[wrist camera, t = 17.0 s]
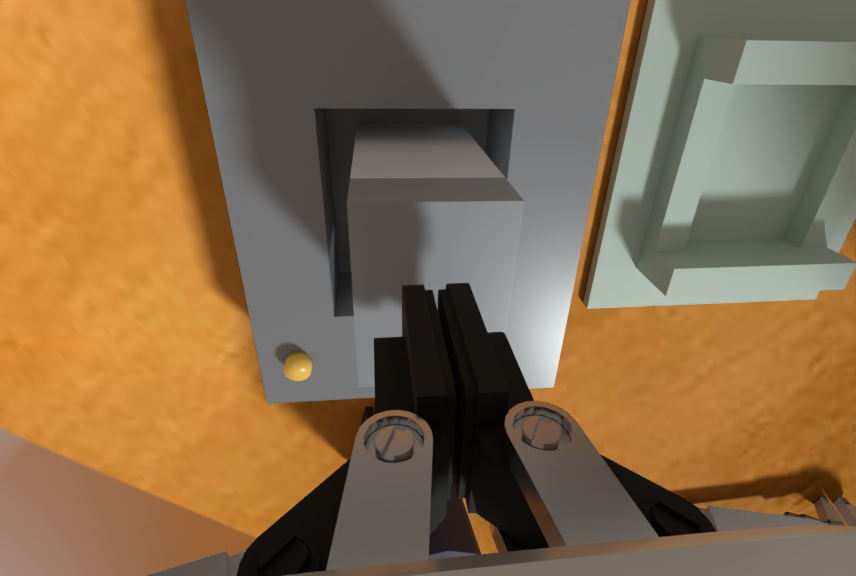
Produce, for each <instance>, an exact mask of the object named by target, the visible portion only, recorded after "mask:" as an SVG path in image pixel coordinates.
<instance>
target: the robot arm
mask: <svg viewBox="0 0 856 576" xmlns="http://www.w3.org/2000/svg"><path fill="white" fill-rule="evenodd" d="M374 380H375V415H373V416H372V417H370V418H369V419H367V420H366V421H365V422H364V423H363V424H362V425H361V426H360V427H359V430H358V432H357V434H356V437H355V442H354V446H353V451H352V455H351V459H349V460H348V461H347V462H346V463H345V464H343V465H342V466H341V467H340V468H339V469H338V470H336V471H335V472H334V473H333V474H332V475H331V476H329V477H328V478H327V479H326V480H325V481H323V482H322V483H321V484H320V485H319V486H318V487H316V488H315V489H314V490H313V491H312V492H311V493H309V494H308V495H307V496H306V497H305V498H304V499H302V500H301V501H300V502H299V503H298V504H296V505H295V506H294V507H293V508H292V509H291V510H289V511H288V512H287V513H286V514H285V515H284V516H282V517H281V518H280V519H279V520H278V521H277V522H275V523H274V524H273V525H272V526H271V527H269V528H268V529H267V530H266V531H265V532H264V533H262V534H261V535H260V536H259V537H258V538H257V539H256V540H255V541H254V542H253V543H252V544H251V545H250V547H249V548H248V549H247V550H246V552H243V553H240V554H237V555H233V556H230V557H228V554H227V552H222V553H219V554H216V555H213V556H209V557H206V558H203V559H200V560H197V561H193V562H190V563H187V564H183V565H180V566H177V567H174V568H170V569H167V570H164V571H161V572H157V573H154V574H151V575H148V576H856V526H842V525H828V524H826V523H824V522H820V521H816V520H812V519H807V518H799V517H791V516H783V515H775V514H767V513H759V512H751V511H743V510H735V509H727V508H719V507H711V506H708V507H707V509H706V511H705V512H703V511H700V510H699V509H698V508H697V507H696V506H694V505H693V504H691V503H690V502H688V501H687V500H685V499H684V498H682V497H680V496H678V495H676V494H674V493H672V492H670V491H668V490H667V489H665V488H663V487H661V486H659V485H657V484H655V483H653V482H651V481H650V480H648V479H646V478H644V477H642V476H640V475H638V474H636V473H634V472H632V471H631V470H629V469H627V468H625V467H623V466H621V465H619V464H617V463H615V462H614V461H612V460H610V459H608V458H606V457H604V456H602V455H600V454H599V452H598V451H597V450H596V448H595V447H594V445H593V444H592V443H591V441H590V440H589V438H588V437H587V436H586V434H585V433H584V431H583V430H582V429H581V427H580V426H579V424H578V423H577V422H576V420H575V419H574V418H573V417H572V416H571V415H570V414H569V413H568V412H566V411H565V410H563V409H562V408H560V407H558V406H556V405H553V404H550V403H547V402H541V401H534V400H533V397H532V395H531V393H530V390H529V388H528V386H527V383H526V381H525V379H524V376H523V374H522V372H521V369H520V367H519V365H518V362H517V360H516V358H515V355H514V353H513V351H512V348H511V346H510V344H509V341H508V339H507V337H506V335H505V333H504V332H487V329H486V327H485V324H484V321H483V319H482V316H481V313H480V311H479V308H478V305H477V303H476V300H475V297H474V295H473V292H472V289H471V287H470V284H469V283H449V284H446V289H440V290H438V308H437V307H436V302H435V298H434V294H433V290H425V287H424V285H423V284H422V285H402V337H385V338H374ZM452 475H453V481H454V486H455V492H456V496H457V498H465V499H466V504H467V509H468V513H477V514H478V515H480V516H481V517H483V518H484V519H485V520H487V521H488V522H490V523H491V526H490V529H491V533H492V538H493V540H494V543H495V545H496V548H497V550H498V553H491V554H481V555H471V556H461V557H452V558H442V559H432V560H429V541H430V535H431V534H432V532H433V531H434V530H435V529H436V528H437V526H438V525H439V524H440V523H441V522H442V520H443V519H444V518H445V517H446V509H447V499H450V496H451V481H452Z"/></svg>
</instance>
